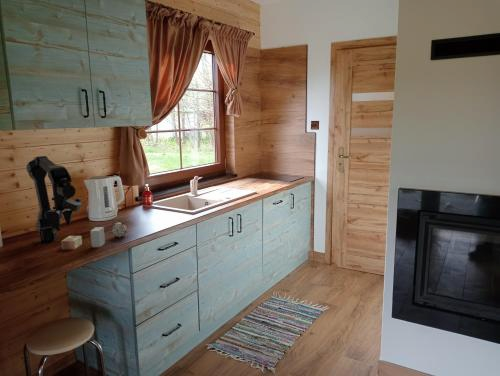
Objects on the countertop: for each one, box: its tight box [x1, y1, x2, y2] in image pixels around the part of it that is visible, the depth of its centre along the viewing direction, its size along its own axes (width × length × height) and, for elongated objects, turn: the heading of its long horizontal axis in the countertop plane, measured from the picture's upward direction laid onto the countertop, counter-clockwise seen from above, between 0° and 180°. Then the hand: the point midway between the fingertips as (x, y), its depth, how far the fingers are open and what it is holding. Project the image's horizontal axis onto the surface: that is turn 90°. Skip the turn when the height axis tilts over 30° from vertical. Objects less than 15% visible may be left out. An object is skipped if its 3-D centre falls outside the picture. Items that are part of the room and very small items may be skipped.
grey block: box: [90, 226, 106, 248], centre depth 197 cm, size 6×4×8 cm, turn 177°
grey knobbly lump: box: [110, 220, 129, 240], centre depth 208 cm, size 9×8×10 cm
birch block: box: [60, 235, 83, 250], centre depth 196 cm, size 6×4×8 cm
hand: (63, 227), depth 188 cm, fingers open, 9 cm apart
